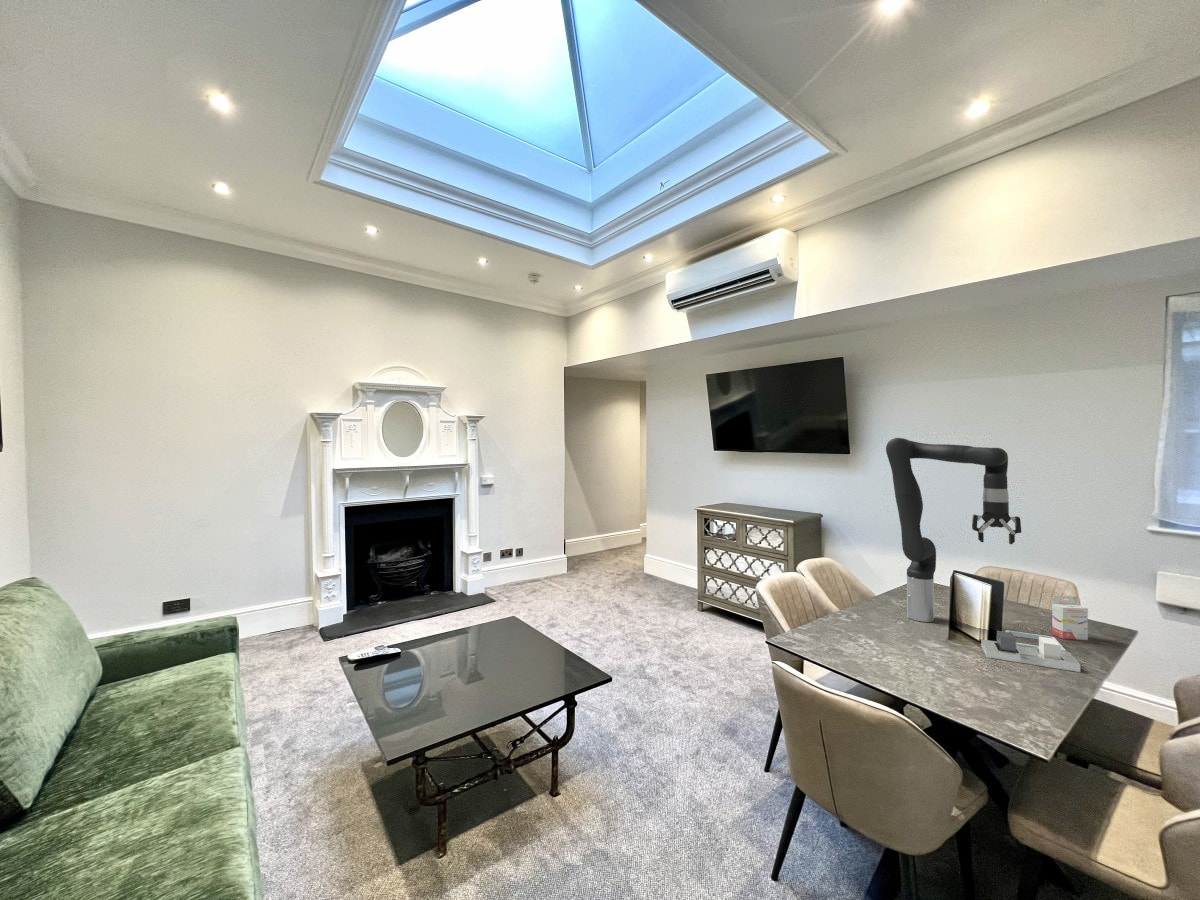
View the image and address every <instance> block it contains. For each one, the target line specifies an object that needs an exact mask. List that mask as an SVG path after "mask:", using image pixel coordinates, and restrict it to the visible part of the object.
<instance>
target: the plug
mask: <svg viewBox="0 0 1200 900" xmlns="http://www.w3.org/2000/svg"><path fill="white" fill-rule="evenodd" d="M1055 639H1056V638H1055ZM1055 639H1053V638H1046V637H1039V639H1038V646H1039V654H1040V655H1041V656H1042V657H1045V658H1052V659H1058V660H1061V645H1062V644H1061V643H1060V642H1059V641H1058V640H1057V639H1056V640H1057V641H1058V642H1059V643H1060V644H1061V645H1060V644H1059V643H1058V642H1057V641H1056V640H1055Z"/></svg>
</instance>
